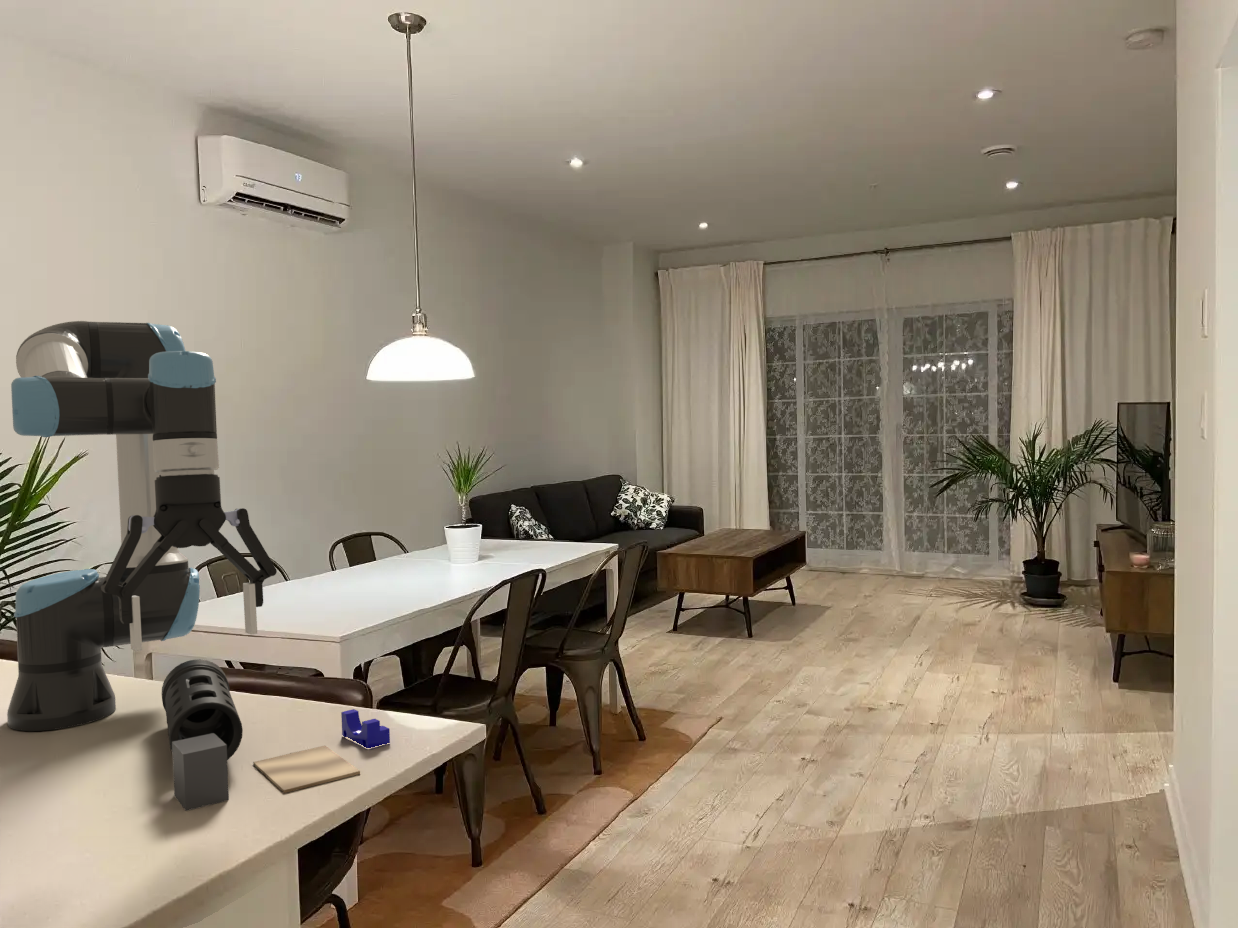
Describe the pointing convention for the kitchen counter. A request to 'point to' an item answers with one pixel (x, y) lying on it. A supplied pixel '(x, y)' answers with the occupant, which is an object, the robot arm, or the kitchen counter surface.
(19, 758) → the kitchen counter surface
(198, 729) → the muzzle brake
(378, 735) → the cable holder
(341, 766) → the mat
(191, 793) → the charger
